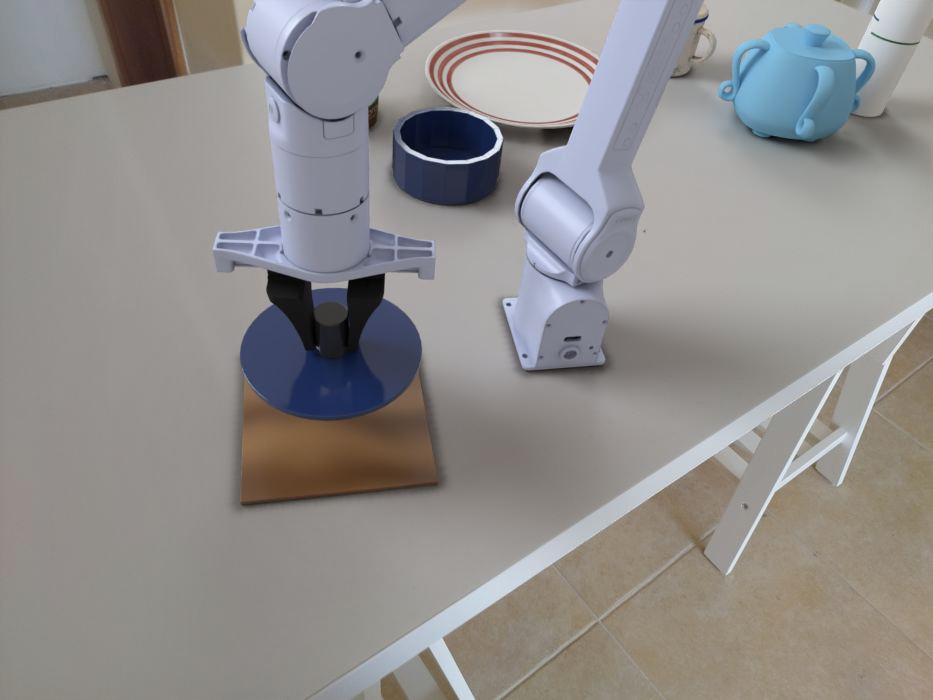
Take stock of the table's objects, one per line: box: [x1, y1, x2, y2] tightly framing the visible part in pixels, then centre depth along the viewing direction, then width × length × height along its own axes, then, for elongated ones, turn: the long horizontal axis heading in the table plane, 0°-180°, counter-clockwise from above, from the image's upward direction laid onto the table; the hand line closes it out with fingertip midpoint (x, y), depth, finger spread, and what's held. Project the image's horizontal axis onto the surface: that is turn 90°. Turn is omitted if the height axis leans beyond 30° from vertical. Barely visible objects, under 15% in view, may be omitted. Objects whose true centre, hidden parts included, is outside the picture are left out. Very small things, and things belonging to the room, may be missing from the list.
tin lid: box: [239, 287, 423, 421], centre depth 55 cm, size 14×14×5 cm
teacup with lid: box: [670, 2, 717, 77], centre depth 111 cm, size 12×9×12 cm
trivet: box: [239, 371, 439, 505], centre depth 62 cm, size 15×15×1 cm
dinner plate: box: [424, 29, 600, 130], centre depth 103 cm, size 27×27×3 cm
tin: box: [391, 106, 505, 206], centre depth 87 cm, size 13×13×5 cm
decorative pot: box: [717, 22, 876, 142], centre depth 100 cm, size 16×16×14 cm
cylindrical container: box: [851, 0, 933, 118], centre depth 103 cm, size 7×7×25 cm
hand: (332, 341), depth 56 cm, fingers closed on tin lid, 2 cm apart
